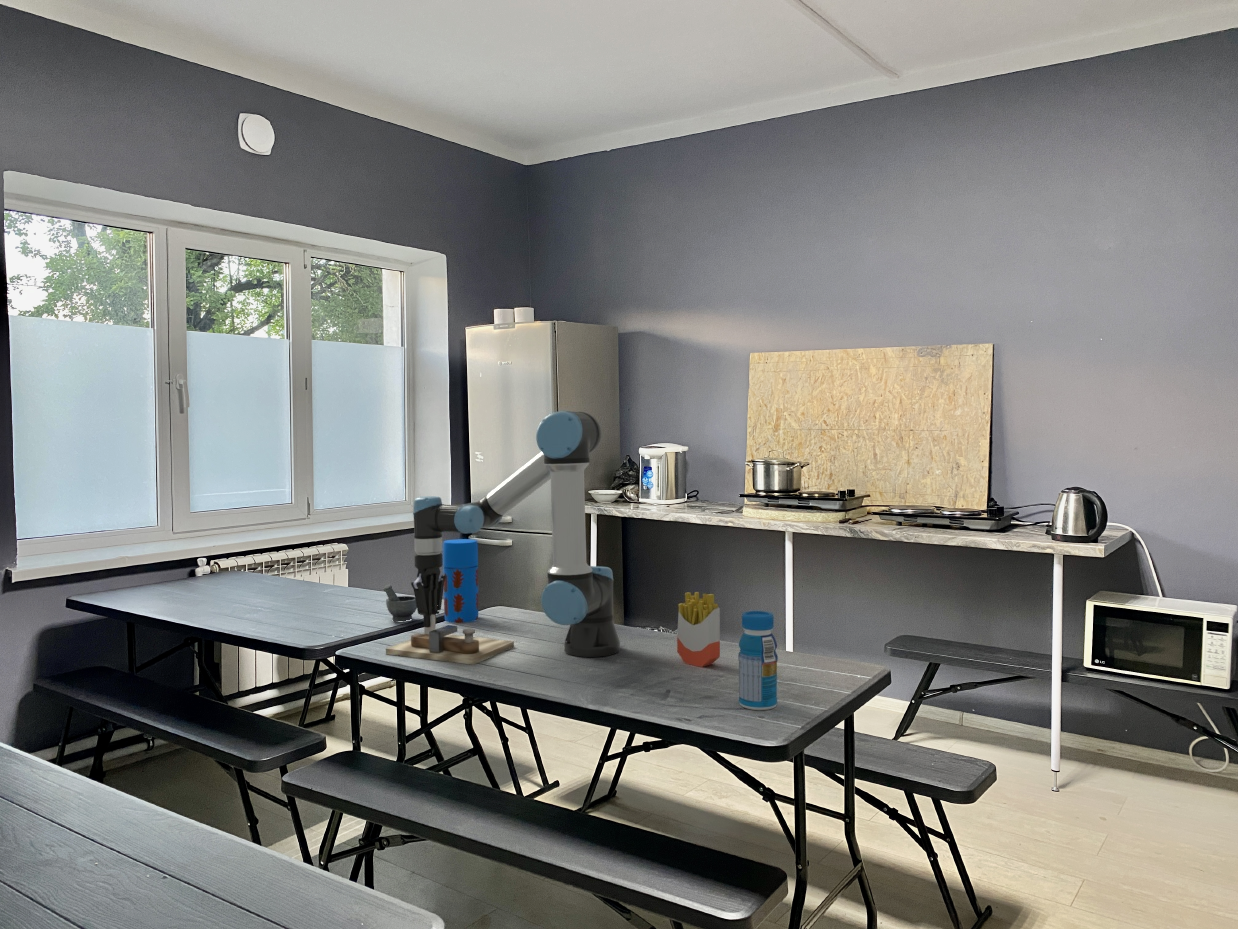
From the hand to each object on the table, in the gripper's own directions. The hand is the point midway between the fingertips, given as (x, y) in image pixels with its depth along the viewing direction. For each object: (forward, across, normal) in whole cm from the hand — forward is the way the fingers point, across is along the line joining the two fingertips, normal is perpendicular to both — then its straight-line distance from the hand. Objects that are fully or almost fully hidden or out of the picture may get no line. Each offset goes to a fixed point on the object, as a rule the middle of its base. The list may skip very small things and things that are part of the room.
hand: (430, 638), depth 242 cm
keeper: (+2, +4, +7) cm, 8 cm away
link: (+1, +3, +7) cm, 8 cm away
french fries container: (+3, -14, +73) cm, 74 cm away
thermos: (+4, -35, -14) cm, 38 cm away
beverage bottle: (+3, +13, +96) cm, 97 cm away
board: (+3, -1, +6) cm, 7 cm away
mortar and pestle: (+4, -26, -31) cm, 41 cm away
